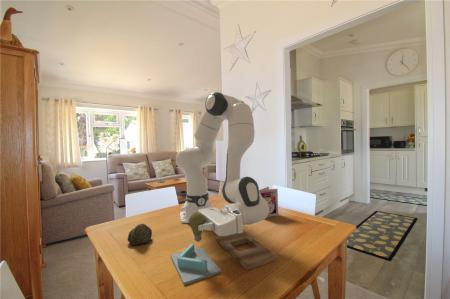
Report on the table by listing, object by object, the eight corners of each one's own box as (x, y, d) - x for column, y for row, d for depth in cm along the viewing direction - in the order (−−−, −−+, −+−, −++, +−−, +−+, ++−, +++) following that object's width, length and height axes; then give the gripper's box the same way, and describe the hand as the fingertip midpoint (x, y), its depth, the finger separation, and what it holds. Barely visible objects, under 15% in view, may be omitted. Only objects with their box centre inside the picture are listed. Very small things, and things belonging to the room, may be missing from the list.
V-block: (170, 256, 80) (170, 246, 80) (201, 248, 85) (200, 239, 85) (184, 285, 64) (183, 272, 63) (220, 272, 69) (220, 261, 69)
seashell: (119, 236, 85) (144, 234, 85) (128, 212, 95) (151, 210, 95) (127, 251, 92) (151, 250, 92) (135, 227, 101) (157, 226, 102)
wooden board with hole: (216, 240, 91) (216, 236, 91) (240, 234, 97) (240, 229, 97) (247, 270, 70) (246, 264, 70) (276, 259, 75) (276, 254, 75)
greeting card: (259, 218, 115) (258, 190, 115) (254, 214, 123) (253, 187, 122) (278, 216, 118) (278, 188, 118) (272, 211, 125) (272, 186, 125)
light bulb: (190, 238, 77) (188, 210, 77) (206, 236, 78) (204, 209, 77) (189, 245, 72) (187, 216, 71) (206, 244, 72) (204, 214, 72)
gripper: (217, 201, 89) (185, 207, 83) (244, 215, 71) (204, 224, 65) (218, 216, 90) (186, 223, 83) (244, 234, 71) (206, 245, 65)
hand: (194, 224), depth 74 cm, fingers closed on light bulb, 5 cm apart
